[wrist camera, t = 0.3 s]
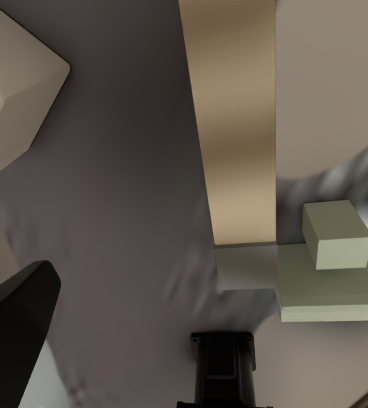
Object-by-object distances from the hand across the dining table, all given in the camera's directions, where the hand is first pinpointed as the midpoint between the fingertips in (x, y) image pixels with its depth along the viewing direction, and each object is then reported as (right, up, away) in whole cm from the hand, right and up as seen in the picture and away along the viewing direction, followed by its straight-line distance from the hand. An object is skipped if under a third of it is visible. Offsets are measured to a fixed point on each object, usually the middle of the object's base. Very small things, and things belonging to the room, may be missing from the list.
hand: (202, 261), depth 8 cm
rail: (+3, +7, +11) cm, 13 cm away
